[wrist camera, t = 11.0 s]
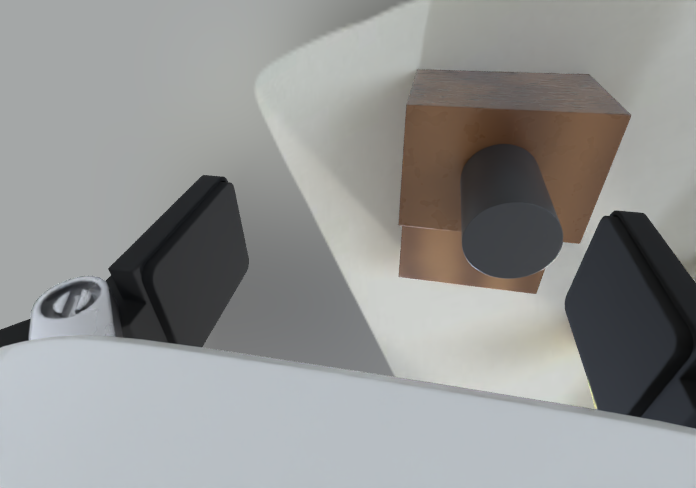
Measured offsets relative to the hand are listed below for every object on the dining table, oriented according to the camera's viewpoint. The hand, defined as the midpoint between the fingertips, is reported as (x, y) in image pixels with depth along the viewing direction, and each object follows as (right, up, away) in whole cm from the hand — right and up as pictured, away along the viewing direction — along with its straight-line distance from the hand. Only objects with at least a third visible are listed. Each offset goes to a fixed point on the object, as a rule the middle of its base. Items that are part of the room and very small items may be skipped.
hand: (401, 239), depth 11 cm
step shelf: (+12, +6, +29) cm, 32 cm away
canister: (+10, +5, +19) cm, 21 cm away
